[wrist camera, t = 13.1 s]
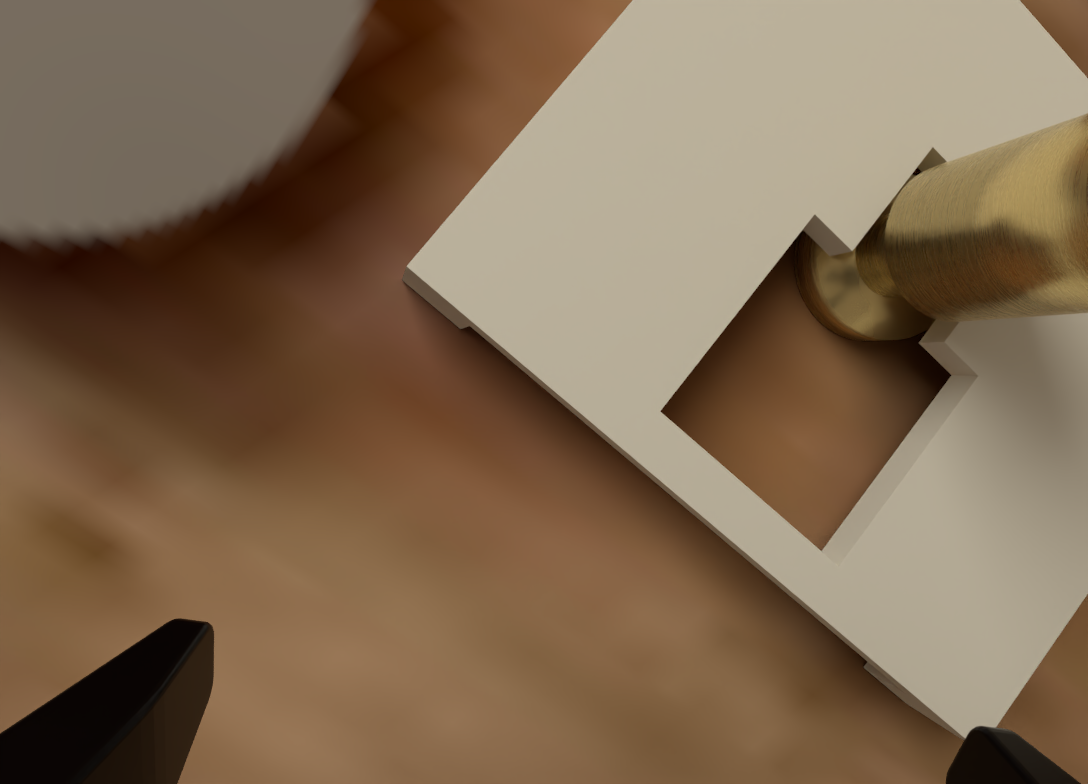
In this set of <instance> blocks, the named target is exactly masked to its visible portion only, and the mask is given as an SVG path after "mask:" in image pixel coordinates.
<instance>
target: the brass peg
mask: <svg viewBox="0 0 1088 784" xmlns="http://www.w3.org/2000/svg"><path fill="white" fill-rule="evenodd" d="M794 268H795V276H796V280H797V284H798V288H799V290H800V293H801V296H802V298H803V300H804V302H805V304H806V305H807V307H808V308H809V310H810V311H811V313H812V314H813V315H814V316H815V318H816V319H817V320H818V321H819V322H820V323H821V324H823V325H824V326H825V327H826V328H827V329H829V330H831V331H832V332H834V333H836V334H838V335H840V336H842V337H845V338H848V339H852V340H858V341H881V340H900V339H906V338H910V337H913V336H916V335H918V334H920V333H922V332H924V331H926V330H927V329H929V328H930V327H931V326H932V324H933V323H934V322H935V320H936V319H937V320H940V321H947V322H962V321H977V320H991V319H1006V318H1021V317H1036V316H1051V315H1065V314H1080V313H1088V113H1087V114H1084V115H1081V116H1078V117H1075V118H1073V119H1070V120H1067V121H1064V122H1061V123H1058V124H1055V125H1052V126H1050V127H1047V128H1044V129H1041V130H1038V131H1035V132H1032V133H1029V134H1027V135H1024V136H1021V137H1018V138H1015V139H1012V140H1009V141H1006V142H1004V143H1001V144H998V145H995V146H992V147H989V148H986V149H983V150H981V151H978V152H975V153H972V154H969V155H966V156H963V157H960V158H958V159H955V160H952V161H949V162H946V163H943V164H940V165H937V166H935V167H932V168H929V169H927V170H925V171H923V172H921V173H920V174H918V175H917V176H915V175H911V176H910V177H909V179H908V180H907V181H906V182H905V184H904V185H903V186H902V188H901V189H900V190H899V191H898V193H897V194H896V195H895V197H894V198H893V199H892V201H891V202H890V203H889V204H888V206H887V207H886V208H885V210H884V211H883V212H882V213H881V215H880V216H879V217H878V219H877V220H876V221H875V223H874V224H873V225H872V226H871V228H870V229H869V230H868V232H867V233H866V234H865V235H864V237H863V238H862V239H861V241H860V242H859V243H858V245H857V246H856V247H855V248H854V250H853V251H851V252H847V253H842V254H838V255H834V256H829V255H828V254H827V253H826V252H825V251H824V250H823V249H822V248H821V247H820V246H819V245H818V244H817V243H816V242H815V241H814V240H813V239H812V238H811V237H810V236H809V235H808V234H807V233H805V232H804V231H803V230H802V231H801V232H800V234H799V235H798V236H797V240H796V244H795V253H794Z"/></svg>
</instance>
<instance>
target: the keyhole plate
mask: <svg viewBox="0 0 1088 784" xmlns="http://www.w3.org/2000/svg"><path fill="white" fill-rule="evenodd" d="M1087 113H1088V78H1087V77H1086V76H1085V75H1084V74H1083V73H1082V71H1081V70H1080V69H1079V68H1078V67H1077V66H1076V65H1075V63H1074V62H1073V61H1072V60H1071V59H1070V58H1069V56H1068V55H1067V54H1066V53H1065V52H1064V51H1063V50H1062V48H1061V47H1060V46H1059V45H1058V44H1057V43H1056V42H1055V40H1054V39H1053V38H1052V37H1051V36H1050V35H1049V34H1048V32H1047V31H1046V30H1045V29H1044V28H1043V27H1042V26H1041V24H1040V23H1039V22H1038V21H1037V20H1036V19H1035V17H1034V16H1033V15H1032V14H1031V13H1030V12H1029V11H1028V9H1027V8H1026V7H1025V6H1024V5H1023V4H1022V3H1021V1H1020V0H633V1H632V2H631V3H630V4H629V5H628V7H627V8H626V9H625V10H624V11H623V13H622V14H621V15H620V16H619V17H618V18H617V20H616V21H615V22H614V23H613V24H612V25H611V27H610V28H609V29H608V30H607V31H606V33H605V34H604V35H603V36H602V37H601V38H600V40H599V41H598V42H597V43H596V44H595V45H594V47H593V48H592V49H591V50H590V51H589V53H588V54H587V55H586V56H585V57H584V58H583V60H582V61H581V62H580V63H579V64H578V65H577V67H576V68H575V69H574V70H573V71H572V73H571V74H570V75H569V76H568V77H567V78H566V80H565V81H564V82H563V83H562V84H561V85H560V87H559V88H558V89H557V90H556V91H555V92H554V94H553V95H552V96H551V97H550V98H549V100H548V101H547V102H546V103H545V104H544V105H543V107H542V108H541V109H540V110H539V111H538V112H537V114H536V115H535V116H534V117H533V118H532V120H531V121H530V122H529V123H528V124H527V125H526V127H525V128H524V129H523V130H522V131H521V132H520V134H519V135H518V136H517V137H516V138H515V140H514V141H513V142H512V143H511V144H510V145H509V147H508V148H507V149H506V150H505V151H504V152H503V154H502V155H501V156H500V157H499V158H498V159H497V161H496V162H495V163H494V164H493V165H492V167H491V168H490V169H489V170H488V171H487V172H486V174H485V175H484V176H483V177H482V178H481V179H480V181H479V182H478V183H477V184H476V185H475V187H474V188H473V189H472V190H471V191H470V192H469V194H468V195H467V196H466V197H465V198H464V199H463V201H462V202H461V203H460V204H459V205H458V207H457V208H456V209H455V210H454V211H453V212H452V214H451V215H450V216H449V217H448V218H447V219H446V221H445V222H444V223H443V224H442V225H441V227H440V228H439V229H438V230H437V231H436V232H435V234H434V235H433V236H432V237H431V238H430V239H429V241H428V242H427V243H426V244H425V245H424V246H423V248H422V249H421V250H420V251H419V252H418V254H417V255H416V256H415V257H414V258H413V259H412V261H411V262H410V263H409V264H408V265H407V267H406V269H405V272H404V275H403V278H402V281H404V282H405V283H406V284H407V285H408V286H410V287H411V288H412V289H413V290H414V291H416V292H417V293H418V294H419V295H420V296H422V297H423V298H424V299H425V300H426V301H427V302H429V303H430V304H431V305H432V306H433V307H435V308H436V309H437V310H438V311H439V312H441V313H442V314H443V315H444V316H445V317H447V318H448V319H449V320H450V321H451V322H452V323H454V324H455V325H456V326H457V327H458V328H460V329H463V328H465V327H468V326H470V327H471V328H473V329H474V330H475V331H476V332H477V333H478V334H480V335H481V336H482V337H483V338H484V339H486V340H487V341H488V342H489V343H490V344H492V345H493V346H494V347H495V348H496V349H497V350H499V351H500V352H501V353H502V354H503V355H505V356H506V357H507V358H508V359H509V360H510V361H512V362H513V363H514V364H515V365H516V366H518V367H519V368H520V369H521V370H522V371H524V372H525V373H526V374H527V375H528V376H529V377H531V378H532V379H533V380H534V381H535V382H537V383H538V384H539V385H540V386H541V387H543V388H544V389H545V390H546V391H547V392H548V393H550V394H551V395H552V396H553V397H554V398H556V399H557V400H558V401H559V402H560V403H561V404H563V405H564V406H565V407H566V408H567V409H569V410H570V411H571V412H572V413H573V414H575V415H576V416H577V417H578V418H579V419H580V420H582V421H583V422H584V423H585V424H586V425H588V426H589V427H590V428H591V429H592V430H593V431H595V432H596V433H597V434H598V435H599V436H601V437H602V438H603V439H604V440H605V441H607V442H608V443H609V444H610V445H611V446H612V447H614V448H615V449H616V450H617V451H618V452H620V453H621V454H622V455H623V456H624V457H626V458H627V459H628V460H629V461H630V462H631V463H633V464H634V465H635V466H636V467H637V468H639V469H640V470H641V471H642V472H643V473H644V474H646V475H647V476H648V477H649V478H650V479H652V480H653V481H654V482H655V483H656V484H658V485H659V486H660V487H661V488H662V489H663V490H665V491H666V492H667V493H668V494H669V495H671V496H672V497H673V498H674V499H675V500H676V501H678V502H679V503H680V504H681V505H682V506H684V507H685V508H686V509H687V510H688V511H690V512H691V513H692V514H693V515H694V516H695V517H697V518H698V519H699V520H700V521H701V522H703V523H704V524H705V525H706V526H707V527H709V528H710V529H711V530H712V531H713V532H714V533H716V534H717V535H718V536H719V537H720V538H722V539H723V540H724V541H725V542H726V543H727V544H729V545H730V546H731V547H732V548H733V549H735V550H736V551H737V552H738V553H739V554H741V555H742V556H743V557H744V558H745V559H746V560H748V561H749V562H750V563H751V564H752V565H754V566H755V567H756V568H757V569H758V570H759V571H761V572H762V573H763V574H764V575H765V576H767V577H768V578H769V579H770V580H771V581H773V582H774V583H775V584H776V585H777V586H778V587H780V588H781V589H782V590H783V591H784V592H786V593H787V594H788V595H789V596H790V597H792V598H793V599H794V600H795V601H796V602H797V603H799V604H800V605H801V606H802V607H803V608H805V609H806V610H807V611H808V612H809V613H810V614H812V615H813V616H814V617H815V618H816V619H818V620H819V621H820V622H821V623H822V624H824V625H825V626H826V627H827V628H828V629H829V630H831V631H832V632H833V633H834V634H835V635H837V636H838V637H839V638H840V639H841V640H842V641H844V642H845V643H846V644H847V645H848V646H850V647H851V648H852V649H853V650H854V651H856V652H857V653H858V654H859V655H860V656H861V657H863V658H864V659H865V660H866V661H867V663H866V664H865V666H864V667H863V668H864V669H866V670H867V671H868V672H869V673H870V674H872V675H873V676H874V677H875V678H876V679H878V680H879V681H880V682H881V683H882V684H883V685H885V686H886V687H887V688H888V689H889V690H891V691H892V692H893V693H894V694H895V695H897V696H898V697H899V698H900V699H901V700H903V701H904V702H905V703H906V704H908V705H909V706H911V707H912V708H914V709H915V710H917V711H918V712H920V713H922V714H923V715H925V716H926V717H928V718H929V719H931V720H932V721H934V722H936V723H937V724H939V725H940V726H942V727H943V728H945V729H946V730H948V731H950V732H951V733H953V734H954V735H956V736H957V737H959V738H960V739H962V740H965V738H966V737H967V735H968V733H969V732H970V730H972V729H973V728H975V727H976V726H987V727H995V728H996V726H997V725H998V723H999V722H1000V721H1001V719H1002V718H1003V716H1004V715H1005V713H1006V712H1007V710H1008V709H1009V707H1010V706H1011V705H1012V703H1013V702H1014V700H1015V699H1016V697H1017V696H1018V694H1019V693H1020V691H1021V690H1022V689H1023V687H1024V686H1025V684H1026V683H1027V681H1028V680H1029V678H1030V677H1031V675H1032V674H1033V673H1034V671H1035V670H1036V668H1037V667H1038V665H1039V664H1040V662H1041V661H1042V659H1043V658H1044V657H1045V655H1046V654H1047V652H1048V651H1049V649H1050V648H1051V646H1052V645H1053V643H1054V642H1055V641H1056V639H1057V638H1058V636H1059V635H1060V633H1061V632H1062V630H1063V629H1064V627H1065V626H1066V625H1067V623H1068V622H1069V620H1070V619H1071V617H1072V616H1073V614H1074V613H1075V611H1076V610H1077V609H1078V607H1079V606H1080V604H1081V603H1082V601H1083V600H1084V598H1085V597H1086V595H1087V594H1088V313H1080V314H1065V315H1051V316H1036V317H1021V318H1006V319H991V320H977V321H962V322H947V321H940V320H937V319H936V320H935V322H934V323H933V324H932V326H931V327H930V328H929V330H928V331H927V332H926V334H925V335H924V336H923V338H922V339H921V340H920V342H919V344H920V345H921V346H922V347H923V348H924V349H925V350H926V351H927V352H928V353H929V354H930V355H931V356H932V357H933V358H934V359H935V360H936V361H938V362H939V363H940V364H941V365H942V366H943V367H944V368H945V369H946V370H947V371H948V372H949V373H950V374H951V376H950V378H949V379H948V381H947V382H946V383H945V385H944V386H943V387H942V389H941V390H940V391H939V393H938V394H937V395H936V397H935V398H934V399H933V401H932V402H931V404H930V405H929V406H928V408H927V409H926V410H925V412H924V413H923V414H922V416H921V417H920V418H919V420H918V421H917V423H916V424H915V425H914V427H913V428H912V429H911V431H910V432H909V433H908V435H907V436H906V437H905V439H904V440H903V441H902V443H901V444H900V446H899V447H898V448H897V450H896V451H895V452H894V454H893V455H892V456H891V458H890V459H889V460H888V462H887V463H886V465H885V466H884V467H883V469H882V470H881V471H880V473H879V474H878V475H877V477H876V478H875V479H874V481H873V482H872V484H871V485H870V486H869V488H868V489H867V490H866V492H865V493H864V494H863V496H862V497H861V498H860V500H859V501H858V502H857V504H856V505H855V507H854V508H853V509H852V511H851V512H850V513H849V515H848V516H847V517H846V519H845V520H844V521H843V523H842V524H841V526H840V527H839V528H838V530H837V531H836V532H835V534H834V535H833V536H832V538H831V539H830V540H829V542H828V543H827V544H826V546H825V547H824V549H823V550H822V551H820V550H819V549H818V548H817V547H816V546H815V545H813V544H812V543H811V542H810V541H809V540H808V539H807V538H805V537H804V536H803V535H802V534H801V533H800V532H799V531H797V530H796V529H795V528H794V527H793V526H792V525H790V524H789V523H788V522H787V521H786V520H785V519H784V518H782V517H781V516H780V515H779V514H778V513H777V512H776V511H774V510H773V509H772V508H771V507H770V506H769V505H767V504H766V503H765V502H764V501H763V500H762V499H761V498H759V497H758V496H757V495H756V494H755V493H754V492H752V491H751V490H750V489H749V488H748V487H747V486H746V485H744V484H743V483H742V482H741V481H740V480H739V479H738V478H736V477H735V476H734V475H733V474H732V473H731V472H729V471H728V470H727V469H726V468H725V467H724V466H723V465H721V464H720V463H719V462H718V461H717V460H716V459H714V458H713V457H712V456H711V455H710V454H709V453H708V452H706V451H705V450H704V449H703V448H702V447H701V446H700V445H698V444H697V443H696V442H695V441H694V440H693V439H691V438H690V437H689V436H688V435H687V434H686V433H685V432H683V431H682V430H681V429H680V428H679V427H678V426H677V425H675V424H674V423H673V422H672V421H671V420H670V419H668V418H667V417H666V416H665V415H664V414H663V413H662V412H660V411H661V410H662V408H663V407H664V406H665V405H666V403H667V402H668V401H669V399H670V398H671V397H672V396H673V394H674V393H675V392H676V390H677V389H678V388H679V387H680V385H681V384H682V383H683V382H684V380H685V379H686V378H687V376H688V375H689V374H690V373H691V371H692V370H693V369H694V368H695V366H696V365H697V364H698V362H699V361H700V360H701V359H702V357H703V356H704V355H705V354H706V352H707V351H708V350H709V348H710V347H711V346H712V345H713V343H714V342H715V341H716V340H717V338H718V337H719V336H720V334H721V333H722V332H723V331H724V329H725V328H726V327H727V325H728V324H729V323H730V322H731V320H732V319H733V318H734V317H735V315H736V314H737V313H738V311H739V310H740V309H741V308H742V306H743V305H744V304H745V303H746V301H747V300H748V299H749V297H750V296H751V295H752V294H753V292H754V291H755V290H756V289H757V287H758V286H759V285H760V283H761V282H762V281H763V280H764V278H765V277H766V276H767V274H768V273H769V272H770V271H771V269H772V268H773V267H774V266H775V264H776V263H777V262H778V260H779V259H780V258H781V257H782V255H783V254H784V253H785V252H786V250H787V249H788V248H789V246H790V245H791V244H792V243H793V241H794V240H795V239H796V238H797V236H798V235H799V234H800V232H801V231H802V230H803V231H804V232H805V233H807V234H808V235H809V236H810V237H811V238H812V239H813V240H814V241H815V242H816V243H817V244H818V245H819V246H820V247H821V248H822V249H823V250H824V251H825V252H826V253H827V254H828V255H829V256H834V255H838V254H842V253H847V252H851V251H853V250H854V248H855V247H856V246H857V245H858V243H859V242H860V241H861V239H862V238H863V237H864V235H865V234H866V233H867V232H868V230H869V229H870V228H871V226H872V225H873V224H874V223H875V221H876V220H877V219H878V217H879V216H880V215H881V213H882V212H883V211H884V210H885V208H886V207H887V206H888V204H889V203H890V202H891V201H892V199H893V198H894V197H895V195H896V194H897V193H898V191H899V190H900V189H901V188H902V186H903V185H904V184H905V182H906V181H907V180H908V179H909V177H910V176H911V175H912V173H913V172H914V171H915V169H916V168H917V167H918V169H919V170H920V171H921V172H923V171H925V170H927V169H929V168H932V167H935V166H937V165H940V164H943V163H946V162H949V161H952V160H955V159H958V158H960V157H963V156H966V155H969V154H972V153H975V152H978V151H981V150H983V149H986V148H989V147H992V146H995V145H998V144H1001V143H1004V142H1006V141H1009V140H1012V139H1015V138H1018V137H1021V136H1024V135H1027V134H1029V133H1032V132H1035V131H1038V130H1041V129H1044V128H1047V127H1050V126H1052V125H1055V124H1058V123H1061V122H1064V121H1067V120H1070V119H1073V118H1075V117H1078V116H1081V115H1084V114H1087Z"/></svg>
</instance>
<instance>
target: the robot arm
mask: <svg viewBox="0 0 1088 784" xmlns="http://www.w3.org/2000/svg"><path fill="white" fill-rule="evenodd" d="M213 677H214V631H213V627H212V625H211V624H209V623H208V622H203V621H195V620H188V619H174V620H171V621H169V622H167V623H166V624H164V625H163V626H161V627H160V628H158V629H157V630H155V631H154V632H152V633H151V634H149V635H148V636H146V637H145V638H143V639H142V640H140V641H139V642H137V643H136V644H134V645H133V646H131V647H130V648H128V649H127V650H125V651H124V652H122V653H121V654H119V655H118V656H116V657H115V658H113V659H112V660H110V661H109V662H107V663H106V664H104V665H103V666H101V667H100V668H98V669H97V670H95V671H94V672H92V673H91V674H89V675H88V676H86V677H85V678H83V679H82V680H80V681H79V682H77V683H76V684H74V685H73V686H71V687H69V688H68V689H66V690H65V691H63V692H62V693H60V694H59V695H57V696H56V697H54V698H53V699H51V700H50V701H48V702H47V703H45V704H44V705H42V706H41V707H39V708H38V709H36V710H35V711H33V712H32V713H30V714H29V715H27V716H26V717H24V718H23V719H21V720H20V721H18V722H17V723H15V724H14V725H12V726H11V727H9V728H8V729H6V730H5V731H3V732H2V733H0V784H177V783H178V780H179V778H180V775H181V772H182V770H183V767H184V764H185V762H186V759H187V756H188V754H189V751H190V749H191V746H192V743H193V741H194V738H195V735H196V733H197V730H198V727H199V725H200V722H201V719H202V717H203V714H204V711H205V709H206V706H207V703H208V701H209V698H210V694H211V690H212V686H213ZM946 784H1081V783H1079V782H1078V781H1077V780H1076V779H1074V778H1073V777H1072V776H1070V775H1069V774H1068V773H1067V772H1065V771H1064V770H1063V769H1061V768H1060V767H1059V766H1057V765H1056V764H1055V763H1054V762H1052V761H1051V760H1050V759H1048V758H1047V757H1046V756H1045V755H1043V754H1042V753H1041V752H1039V751H1038V750H1037V749H1036V748H1034V747H1033V746H1032V745H1030V744H1029V743H1028V742H1026V741H1025V740H1024V739H1023V738H1021V737H1020V736H1019V735H1017V734H1016V733H1014V732H1012V731H1010V730H1007V729H1002V728H995V727H987V726H976V727H975V728H973V729H972V730H970V732H969V733H968V735H967V737H966V738H965V740H964V742H963V744H962V746H961V748H960V749H959V751H958V753H957V755H956V757H955V759H954V760H953V762H952V764H951V766H950V768H949V770H948V772H947V777H946Z"/></svg>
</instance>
